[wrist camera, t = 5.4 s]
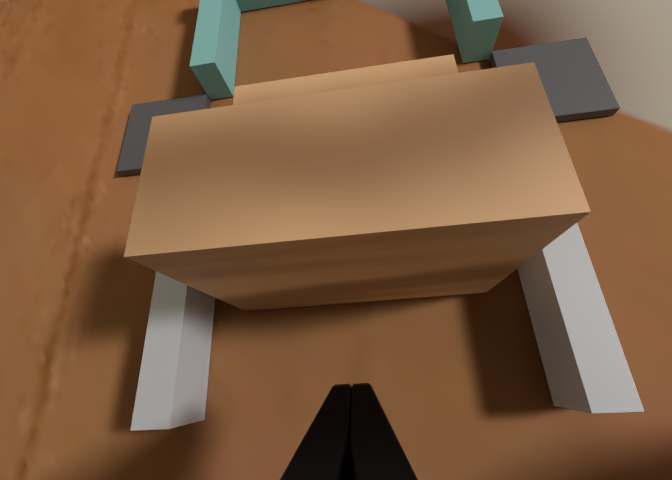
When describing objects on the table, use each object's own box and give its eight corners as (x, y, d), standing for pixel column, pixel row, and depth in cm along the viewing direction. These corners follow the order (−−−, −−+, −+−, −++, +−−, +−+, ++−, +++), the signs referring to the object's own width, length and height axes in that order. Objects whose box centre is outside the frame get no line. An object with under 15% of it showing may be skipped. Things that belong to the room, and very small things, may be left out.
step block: (486, 292, 15) (590, 211, 7) (245, 311, 16) (123, 257, 8) (443, 101, 19) (481, -75, 11) (255, 126, 20) (179, -19, 12)
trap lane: (745, 398, 12) (854, 406, 9) (65, 425, 15) (-8, 437, 12) (534, -54, 22) (556, -114, 20) (159, 12, 25) (132, -32, 22)
